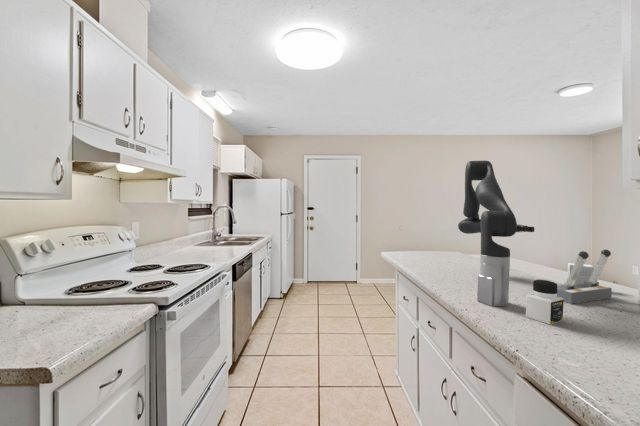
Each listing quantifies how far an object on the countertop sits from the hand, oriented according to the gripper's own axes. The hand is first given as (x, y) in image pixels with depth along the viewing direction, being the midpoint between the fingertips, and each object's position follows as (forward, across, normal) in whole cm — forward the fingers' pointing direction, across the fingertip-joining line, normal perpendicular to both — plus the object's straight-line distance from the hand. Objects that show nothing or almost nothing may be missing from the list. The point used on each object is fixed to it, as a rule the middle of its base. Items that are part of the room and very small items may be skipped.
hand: (533, 229), depth 128 cm
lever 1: (+14, 0, +21) cm, 25 cm away
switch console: (+14, +7, +26) cm, 30 cm away
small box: (+5, +23, +26) cm, 35 cm away
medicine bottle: (+25, -30, +26) cm, 47 cm away
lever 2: (+14, +14, +21) cm, 29 cm away
